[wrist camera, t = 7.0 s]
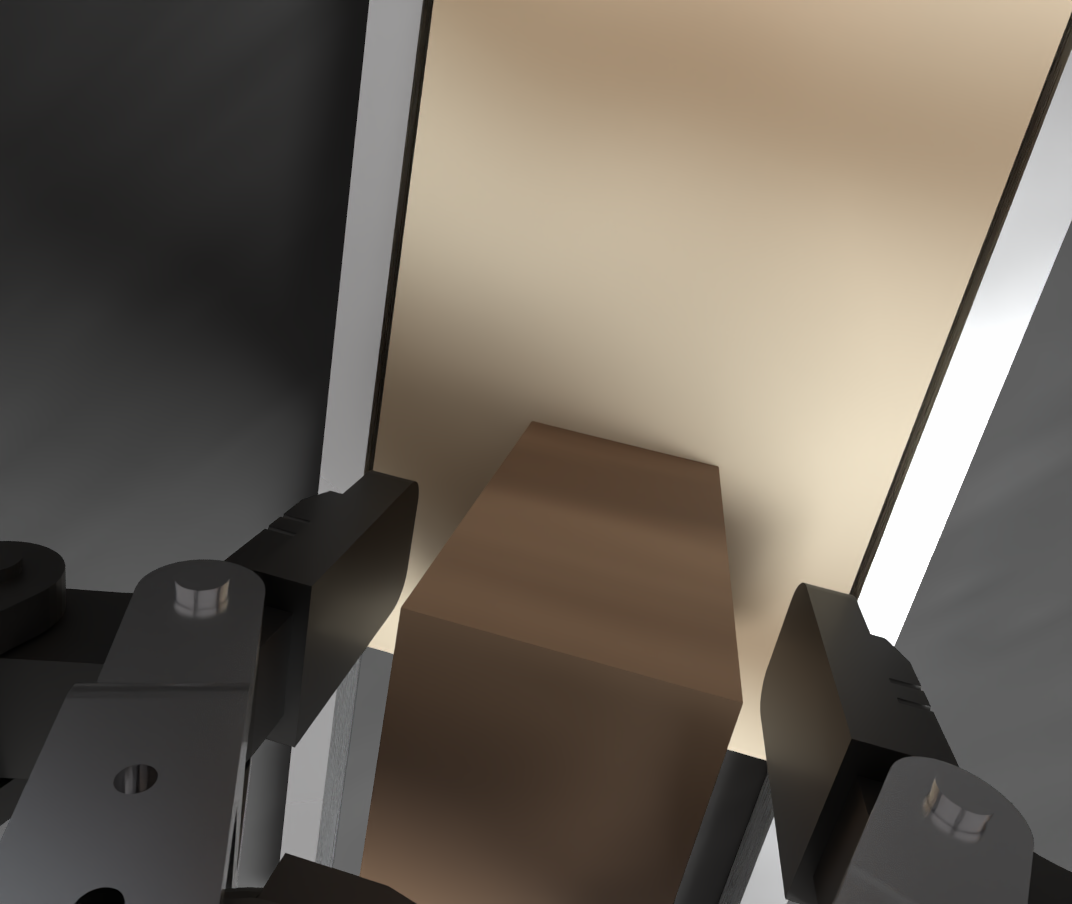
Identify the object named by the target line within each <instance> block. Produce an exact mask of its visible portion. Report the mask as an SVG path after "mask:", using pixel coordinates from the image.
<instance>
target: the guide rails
mask: <svg viewBox="0 0 1072 904" xmlns="http://www.w3.org/2000/svg"><path fill="white" fill-rule="evenodd" d="M433 3H434V0H369V10H368V19H367V29H366V38H365V48H364V58H363V67H362V77H361V86H360V96H359V106H358V115H357V125H356V135H355V144H354V154H353V163H352V173H351V183H350V192H349V202H348V211H347V221H346V231H345V240H344V250H343V259H342V269H341V279H340V288H339V298H338V307H337V317H336V327H335V336H334V346H333V356H332V365H331V375H330V384H329V394H328V404H327V413H326V423H325V432H324V442H323V452H322V461H321V471H320V480H319V490H318V494H322V493H325V492H328V491H334V492H337V493H341V494H343V493H344V492H345V491H346V490H348V489H349V488H350V487H351V486H352V485H353V484H355V483H356V482H357V481H358V480H359V479H360V478H362V477H363V476H364V475H365V474H366V473H367V472H369V471H370V470H373V467H374V459H375V451H376V444H377V436H378V428H379V420H380V413H381V405H382V397H383V389H384V382H385V374H386V366H387V359H388V351H389V343H390V335H391V328H392V320H393V312H394V304H395V297H396V289H397V281H398V274H399V266H400V258H401V250H402V243H403V235H404V227H405V219H406V212H407V204H408V196H409V189H410V181H411V173H412V165H413V158H414V150H415V142H416V134H417V127H418V119H419V111H420V104H421V96H422V88H423V80H424V73H425V65H426V57H427V49H428V42H429V34H430V26H431V19H432V11H433ZM1071 220H1072V12H1071V15H1070V17H1069V20H1068V23H1067V25H1066V28H1065V31H1064V33H1063V36H1062V38H1061V41H1060V44H1059V46H1058V49H1057V51H1056V54H1055V57H1054V59H1053V62H1052V65H1051V67H1050V70H1049V72H1048V75H1047V78H1046V80H1045V83H1044V85H1043V88H1042V91H1041V93H1040V96H1039V99H1038V101H1037V104H1036V106H1035V109H1034V112H1033V114H1032V117H1031V120H1030V122H1029V125H1028V127H1027V130H1026V133H1025V135H1024V138H1023V140H1022V143H1021V146H1020V148H1019V151H1018V154H1017V156H1016V159H1015V161H1014V164H1013V167H1012V169H1011V172H1010V174H1009V177H1008V180H1007V182H1006V185H1005V188H1004V190H1003V193H1002V195H1001V198H1000V201H999V203H998V206H997V208H996V211H995V214H994V216H993V219H992V222H991V224H990V227H989V229H988V232H987V235H986V237H985V240H984V242H983V245H982V248H981V250H980V253H979V256H978V258H977V261H976V263H975V266H974V269H973V271H972V274H971V276H970V279H969V282H968V284H967V287H966V290H965V292H964V295H963V297H962V300H961V303H960V305H959V308H958V310H957V313H956V316H955V318H954V321H953V324H952V326H951V329H950V331H949V334H948V337H947V339H946V342H945V344H944V347H943V350H942V352H941V355H940V358H939V360H938V363H937V365H936V368H935V371H934V373H933V376H932V378H931V381H930V384H929V386H928V389H927V392H926V394H925V397H924V399H923V402H922V405H921V407H920V410H919V412H918V415H917V418H916V420H915V423H914V426H913V428H912V431H911V433H910V436H909V439H908V441H907V444H906V446H905V449H904V452H903V454H902V457H901V460H900V462H899V465H898V467H897V470H896V473H895V475H894V478H893V480H892V483H891V486H890V488H889V491H888V494H887V496H886V499H885V501H884V504H883V507H882V509H881V512H880V514H879V517H878V520H877V522H876V525H875V528H874V530H873V533H872V535H871V538H870V541H869V543H868V546H867V549H866V551H865V554H864V556H863V559H862V562H861V564H860V567H859V569H858V572H857V575H856V577H855V580H854V583H853V585H852V588H851V590H850V593H849V594H850V595H853V596H855V598H856V599H857V602H858V604H859V607H860V609H861V612H862V614H863V616H864V619H865V621H866V624H867V626H868V629H869V631H870V634H873V635H876V636H880V637H884V638H886V639H887V640H888V641H889V642H890V643H891V644H892V645H893V646H894V645H895V643H896V640H897V638H898V635H899V633H900V631H901V628H902V626H903V623H904V621H905V619H906V616H907V614H908V611H909V609H910V607H911V604H912V602H913V599H914V597H915V595H916V592H917V590H918V587H919V585H920V583H921V580H922V578H923V575H924V573H925V571H926V568H927V566H928V563H929V561H930V559H931V556H932V554H933V551H934V549H935V547H936V544H937V542H938V539H939V537H940V535H941V532H942V530H943V527H944V525H945V523H946V520H947V518H948V515H949V513H950V511H951V508H952V506H953V503H954V501H955V499H956V496H957V494H958V491H959V489H960V487H961V484H962V482H963V479H964V477H965V474H966V472H967V470H968V467H969V465H970V462H971V460H972V458H973V455H974V453H975V450H976V448H977V446H978V443H979V441H980V438H981V436H982V434H983V431H984V429H985V426H986V424H987V422H988V419H989V417H990V414H991V412H992V410H993V407H994V405H995V402H996V400H997V398H998V395H999V393H1000V390H1001V388H1002V386H1003V383H1004V381H1005V378H1006V376H1007V374H1008V371H1009V369H1010V366H1011V364H1012V362H1013V359H1014V357H1015V354H1016V352H1017V350H1018V347H1019V345H1020V342H1021V340H1022V338H1023V335H1024V333H1025V330H1026V328H1027V326H1028V323H1029V321H1030V318H1031V316H1032V314H1033V311H1034V309H1035V306H1036V304H1037V302H1038V299H1039V297H1040V294H1041V292H1042V290H1043V287H1044V285H1045V282H1046V280H1047V278H1048V275H1049V273H1050V270H1051V268H1052V266H1053V263H1054V261H1055V258H1056V256H1057V254H1058V251H1059V249H1060V246H1061V244H1062V242H1063V239H1064V237H1065V234H1066V232H1067V230H1068V227H1069V225H1070V222H1071ZM360 659H361V656H360V657H359V659H358V660H357V662H356V663H355V664H354V666H353V667H352V669H351V670H350V671H349V673H348V674H347V676H346V677H345V678H344V680H343V681H342V682H341V684H340V685H339V687H338V688H337V689H336V691H335V692H334V694H333V695H332V696H331V698H330V699H329V701H328V702H327V703H326V705H325V706H324V708H323V709H322V710H321V712H320V713H319V715H318V716H317V717H316V719H315V720H314V722H313V723H312V724H311V726H310V727H309V729H308V730H307V731H306V733H305V734H304V736H303V737H302V738H301V740H300V741H299V742H298V744H297V745H296V747H295V748H294V747H292V749H291V759H290V769H289V778H288V788H287V798H286V807H285V817H284V826H283V836H282V846H281V855H280V860H281V859H282V857H283V856H284V854H285V853H288V854H291V855H294V856H297V857H300V858H303V859H306V860H309V861H313V862H316V863H319V864H322V865H325V866H328V867H331V868H332V865H333V858H334V850H335V843H336V836H337V828H338V821H339V813H340V806H341V799H342V791H343V784H344V777H345V769H346V762H347V755H348V747H349V740H350V732H351V725H352V718H353V710H354V703H355V696H356V688H357V681H358V674H359V666H360ZM787 902H788V900H786V899H785V895H784V887H783V880H782V872H781V865H780V857H779V850H778V843H777V835H776V828H775V820H774V813H773V805H772V798H771V790H770V783H769V775H768V773H767V775H766V778H765V781H764V783H763V786H762V789H761V791H760V794H759V797H758V799H757V802H756V805H755V807H754V810H753V813H752V815H751V818H750V821H749V823H748V826H747V829H746V831H745V834H744V837H743V839H742V842H741V845H740V847H739V850H738V853H737V855H736V858H735V861H734V863H733V866H732V869H731V871H730V874H729V877H728V879H727V882H726V885H725V887H724V890H723V893H722V895H721V898H720V901H719V903H718V904H787Z"/></svg>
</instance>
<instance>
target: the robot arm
mask: <svg viewBox="0 0 1072 904" xmlns="http://www.w3.org/2000/svg"><path fill="white" fill-rule="evenodd" d="M418 498H419V486H418V483H417V482H416V481H412V480H408V479H404V478H401V477H397V476H393V475H389V474H385V473H381V472H377V471H374V470H370V471H369V472H367V473H366V474H365V475H364V476H363V477H362V478H360V479H359V480H358V481H357V482H356V483H355V484H353V485H352V486H351V487H350V488H349V489H348V490H346V491H345V492H344V493H343V494H341V493H337V492H334V491H328V492H325V493H322V494H318V495H315V496H312V497H309V498H306V499H303V500H301V501H300V502H299V503H297V504H296V505H295V506H293V507H292V508H291V509H290V510H288V511H287V512H286V513H285V514H284V516H283V517H279V518H278V519H277V520H276V521H274V522H273V523H272V524H270V525H269V528H268V530H267V529H264V530H263V531H262V532H260V533H259V534H258V535H256V536H255V537H254V538H253V539H251V540H250V541H249V542H248V543H246V544H245V545H244V546H242V547H241V548H240V549H239V550H237V551H236V552H235V553H233V554H232V555H231V556H230V557H228V558H227V559H226V560H225V561H220V560H188V561H182V562H177V563H173V564H169V565H166V566H163V567H161V568H158V569H156V570H154V571H152V572H150V573H149V574H147V575H146V576H145V577H143V578H142V579H141V580H140V582H139V583H138V584H137V586H136V588H135V590H134V593H118V592H104V591H91V590H78V589H66V577H65V563H64V560H63V558H62V557H61V556H60V555H59V554H58V553H57V552H55V551H53V550H51V549H49V548H47V547H44V546H41V545H37V544H33V543H27V542H17V541H0V825H2V824H3V823H4V822H6V821H7V820H9V819H10V821H9V823H8V825H7V827H6V829H5V832H4V834H3V836H2V838H1V840H0V904H417V903H415V902H413V901H412V900H410V899H409V898H407V897H405V896H404V895H402V894H401V893H399V892H397V891H396V890H394V889H392V888H391V887H389V886H387V885H384V884H381V883H378V882H375V881H372V880H368V879H365V878H362V877H359V876H356V875H353V874H350V873H347V872H344V871H341V870H337V869H334V868H331V867H328V866H325V865H322V864H319V863H316V862H313V861H309V860H306V859H303V858H300V857H297V856H294V855H291V854H288V853H285V854H284V856H283V857H282V859H281V860H280V862H279V864H278V865H277V867H276V868H275V870H274V872H273V873H272V875H271V877H270V878H269V880H268V881H267V883H266V885H265V886H264V888H253V887H246V888H237V881H238V873H239V864H240V856H241V848H242V839H243V831H244V823H245V814H246V806H247V798H248V789H249V781H250V771H251V759H252V755H253V754H254V753H255V751H256V750H257V749H258V748H259V746H260V745H261V744H262V743H263V741H264V740H265V739H268V740H272V741H275V742H278V743H281V744H285V745H288V746H291V747H294V748H295V747H296V745H297V744H298V742H299V741H300V740H301V738H302V737H303V736H304V734H305V733H306V731H307V730H308V729H309V727H310V726H311V724H312V723H313V722H314V720H315V719H316V717H317V716H318V715H319V713H320V712H321V710H322V709H323V708H324V706H325V705H326V703H327V702H328V701H329V699H330V698H331V696H332V695H333V694H334V692H335V691H336V689H337V688H338V687H339V685H340V684H341V682H342V681H343V680H344V678H345V677H346V676H347V674H348V673H349V671H350V670H351V669H352V667H353V666H354V664H355V663H356V662H357V660H358V659H359V657H360V656H361V655H362V653H363V652H364V650H365V649H366V648H367V646H368V645H369V643H370V642H371V641H372V639H373V638H374V636H375V635H376V634H377V632H378V631H379V629H380V628H381V627H382V625H383V624H384V623H385V621H386V620H387V618H388V617H389V616H390V614H391V613H392V611H393V610H394V608H395V606H396V605H397V602H398V600H399V598H400V595H401V593H402V590H403V587H404V583H405V580H406V575H407V570H408V564H409V557H410V551H411V544H412V538H413V531H414V525H415V518H416V512H417V505H418ZM930 707H931V706H930V704H929V702H928V700H927V698H926V696H925V693H924V691H921V685H920V683H919V681H918V678H917V676H916V674H915V672H914V670H913V668H912V666H911V664H910V662H909V661H908V660H907V659H906V658H905V657H904V656H903V655H902V654H901V653H900V652H899V651H898V650H897V649H896V648H895V647H894V646H893V645H892V644H891V643H890V642H889V641H888V640H887V639H886V638H884V637H880V636H876V635H873V634H870V631H869V629H868V626H867V624H866V621H865V619H864V616H863V614H862V612H861V609H860V607H859V604H858V602H857V599H856V598H855V596H853V595H850V594H846V593H842V592H838V591H834V590H830V589H826V588H823V587H819V586H815V585H811V584H807V583H803V582H802V583H800V584H799V585H798V587H797V588H796V590H795V592H794V594H793V597H792V599H791V602H790V605H789V608H788V611H787V613H786V616H785V619H784V622H783V625H782V628H781V630H780V633H779V636H778V639H777V642H776V645H775V647H774V650H773V653H772V656H771V659H770V661H769V664H768V667H767V670H766V673H765V677H764V681H763V686H762V691H761V699H760V716H761V723H762V731H763V738H764V746H765V753H766V761H767V768H768V775H769V783H770V790H771V798H772V805H773V813H774V820H775V828H776V835H777V843H778V850H779V857H780V865H781V872H782V880H783V887H784V895H785V899H786V900H790V901H793V902H796V903H800V904H1072V872H1070V871H1068V870H1066V869H1064V868H1062V867H1060V866H1058V865H1056V864H1054V863H1052V862H1050V861H1048V860H1046V859H1045V858H1043V857H1041V856H1039V855H1038V854H1036V853H1034V852H1033V850H1034V838H1033V835H1032V832H1031V829H1030V827H1029V826H1028V824H1027V822H1026V820H1025V819H1024V817H1023V816H1022V815H1021V813H1020V812H1019V811H1018V810H1017V809H1016V808H1015V806H1014V805H1013V804H1012V803H1011V802H1010V801H1009V800H1008V799H1007V798H1005V797H1004V796H1003V795H1002V794H1001V793H1000V792H998V791H997V790H996V789H995V788H993V787H992V786H991V785H989V784H988V783H986V782H985V781H983V780H982V779H980V778H978V777H977V776H975V775H973V774H971V773H970V772H968V771H966V770H964V769H961V768H959V766H958V764H957V762H956V759H955V757H954V755H953V753H952V751H951V749H950V747H949V744H948V742H947V740H946V738H945V736H944V734H943V732H942V730H941V727H940V725H939V723H938V721H937V719H936V717H935V715H934V713H933V712H931V711H930Z"/></svg>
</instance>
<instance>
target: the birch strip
mask: <svg viewBox="0 0 1072 904" xmlns="http://www.w3.org/2000/svg"><path fill="white" fill-rule="evenodd" d="M1071 12H1072V0H434V3H433V11H432V19H431V26H430V34H429V42H428V49H427V57H426V65H425V73H424V80H423V88H422V96H421V104H420V111H419V119H418V127H417V134H416V142H415V150H414V158H413V165H412V173H411V181H410V189H409V196H408V204H407V212H406V219H405V227H404V235H403V243H402V250H401V258H400V266H399V274H398V281H397V289H396V297H395V304H394V312H393V320H392V328H391V335H390V343H389V351H388V359H387V366H386V374H385V382H384V389H383V397H382V405H381V413H380V420H379V428H378V436H377V444H376V451H375V459H374V467H373V470H374V471H377V472H381V473H385V474H389V475H393V476H397V477H401V478H404V479H408V480H412V481H416V482H417V483H418V486H419V498H418V505H417V512H416V518H415V525H414V531H413V538H412V544H411V551H410V557H409V564H408V570H407V575H406V580H405V583H404V587H403V590H402V593H401V595H400V598H399V600H398V602H397V605H396V606H395V608H394V610H393V611H392V613H391V614H390V616H389V617H388V618H387V620H386V621H385V623H384V624H383V625H382V627H381V628H380V629H379V631H378V632H377V634H376V635H375V636H374V638H373V639H372V641H371V642H370V643H369V645H368V647H372V648H375V649H379V650H382V651H386V652H389V653H393V654H394V655H393V662H392V668H391V675H390V681H389V688H388V694H387V701H386V707H385V714H384V720H383V727H382V734H381V740H380V747H379V753H378V760H377V766H376V773H375V779H374V786H373V792H372V799H371V805H370V812H369V819H368V825H367V832H366V838H365V845H364V851H363V858H362V864H361V871H360V877H362V878H365V879H368V880H372V881H375V882H378V883H381V884H384V885H387V886H389V887H391V888H392V889H394V890H396V891H397V892H399V893H401V894H402V895H404V896H405V897H407V898H409V899H410V900H412V901H413V902H415V903H417V904H674V901H675V898H676V895H677V892H678V889H679V886H680V883H681V881H682V878H683V875H684V872H685V869H686V866H687V863H688V860H689V858H690V855H691V852H692V849H693V846H694V843H695V840H696V837H697V835H698V832H699V829H700V826H701V823H702V820H703V817H704V814H705V812H706V809H707V806H708V803H709V800H710V797H711V794H712V791H713V788H714V786H715V783H716V780H717V777H718V774H719V771H720V768H721V765H722V763H723V760H724V757H725V754H726V751H727V749H728V750H732V751H735V752H739V753H742V754H746V755H749V756H753V757H756V758H760V759H763V760H766V753H765V746H764V738H763V731H762V723H761V716H760V699H761V691H762V686H763V681H764V677H765V673H766V670H767V667H768V664H769V661H770V659H771V656H772V653H773V650H774V647H775V645H776V642H777V639H778V636H779V633H780V630H781V628H782V625H783V622H784V619H785V616H786V613H787V611H788V608H789V605H790V602H791V599H792V597H793V594H794V592H795V590H796V588H797V587H798V585H799V584H800V583H802V582H803V583H807V584H811V585H815V586H819V587H823V588H826V589H830V590H834V591H838V592H842V593H846V594H849V593H850V590H851V588H852V585H853V583H854V580H855V577H856V575H857V572H858V569H859V567H860V564H861V562H862V559H863V556H864V554H865V551H866V549H867V546H868V543H869V541H870V538H871V535H872V533H873V530H874V528H875V525H876V522H877V520H878V517H879V514H880V512H881V509H882V507H883V504H884V501H885V499H886V496H887V494H888V491H889V488H890V486H891V483H892V480H893V478H894V475H895V473H896V470H897V467H898V465H899V462H900V460H901V457H902V454H903V452H904V449H905V446H906V444H907V441H908V439H909V436H910V433H911V431H912V428H913V426H914V423H915V420H916V418H917V415H918V412H919V410H920V407H921V405H922V402H923V399H924V397H925V394H926V392H927V389H928V386H929V384H930V381H931V378H932V376H933V373H934V371H935V368H936V365H937V363H938V360H939V358H940V355H941V352H942V350H943V347H944V344H945V342H946V339H947V337H948V334H949V331H950V329H951V326H952V324H953V321H954V318H955V316H956V313H957V310H958V308H959V305H960V303H961V300H962V297H963V295H964V292H965V290H966V287H967V284H968V282H969V279H970V276H971V274H972V271H973V269H974V266H975V263H976V261H977V258H978V256H979V253H980V250H981V248H982V245H983V242H984V240H985V237H986V235H987V232H988V229H989V227H990V224H991V222H992V219H993V216H994V214H995V211H996V208H997V206H998V203H999V201H1000V198H1001V195H1002V193H1003V190H1004V188H1005V185H1006V182H1007V180H1008V177H1009V174H1010V172H1011V169H1012V167H1013V164H1014V161H1015V159H1016V156H1017V154H1018V151H1019V148H1020V146H1021V143H1022V140H1023V138H1024V135H1025V133H1026V130H1027V127H1028V125H1029V122H1030V120H1031V117H1032V114H1033V112H1034V109H1035V106H1036V104H1037V101H1038V99H1039V96H1040V93H1041V91H1042V88H1043V85H1044V83H1045V80H1046V78H1047V75H1048V72H1049V70H1050V67H1051V65H1052V62H1053V59H1054V57H1055V54H1056V51H1057V49H1058V46H1059V44H1060V41H1061V38H1062V36H1063V33H1064V31H1065V28H1066V25H1067V23H1068V20H1069V17H1070V15H1071Z"/></svg>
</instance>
